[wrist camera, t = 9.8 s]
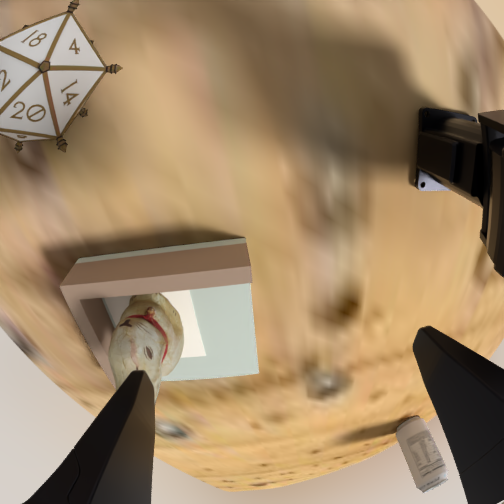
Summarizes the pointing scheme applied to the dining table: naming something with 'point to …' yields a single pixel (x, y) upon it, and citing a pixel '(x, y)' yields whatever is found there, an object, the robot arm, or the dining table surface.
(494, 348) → the dining table surface
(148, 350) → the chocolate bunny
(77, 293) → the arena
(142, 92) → the dining table surface
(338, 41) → the dining table surface
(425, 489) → the energy drink can
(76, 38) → the game die
